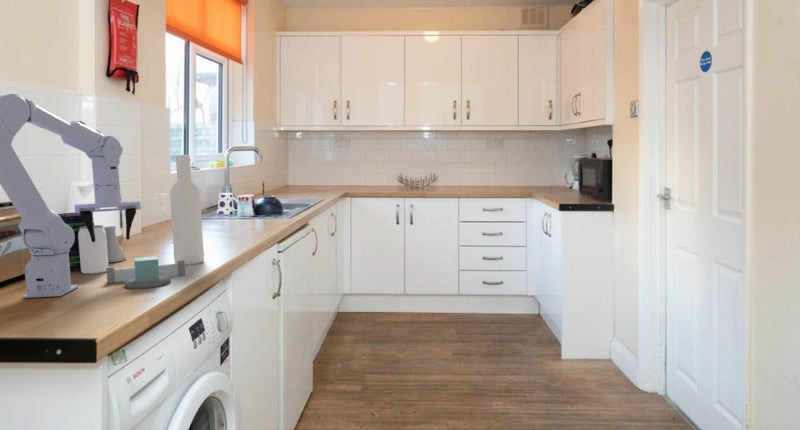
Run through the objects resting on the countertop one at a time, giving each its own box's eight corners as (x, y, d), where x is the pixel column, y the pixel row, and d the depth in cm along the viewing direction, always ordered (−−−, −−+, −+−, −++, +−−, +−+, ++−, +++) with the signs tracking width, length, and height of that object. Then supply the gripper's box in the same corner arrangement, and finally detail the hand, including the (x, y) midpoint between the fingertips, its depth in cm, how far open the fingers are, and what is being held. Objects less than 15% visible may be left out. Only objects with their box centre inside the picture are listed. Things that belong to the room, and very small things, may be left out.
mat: (163, 287, 137) (163, 283, 137) (117, 289, 137) (117, 285, 136) (175, 278, 147) (175, 274, 147) (133, 280, 146) (132, 276, 146)
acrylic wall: (184, 274, 152) (184, 260, 152) (185, 275, 151) (184, 261, 151) (107, 281, 146) (106, 267, 145) (107, 283, 144) (106, 268, 144)
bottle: (168, 264, 167) (160, 155, 164) (188, 259, 174) (181, 154, 171) (190, 265, 164) (183, 154, 161) (210, 260, 171) (204, 154, 168)
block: (158, 276, 145) (157, 256, 145) (159, 280, 141) (157, 259, 140) (136, 278, 143) (134, 258, 143) (136, 282, 139) (134, 261, 138)
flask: (117, 258, 180) (115, 224, 179) (131, 260, 176) (128, 226, 175) (93, 261, 174) (90, 227, 173) (106, 264, 170) (104, 229, 169)
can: (78, 275, 155) (74, 228, 153) (84, 270, 161) (80, 226, 160) (106, 273, 156) (102, 227, 155) (110, 268, 163) (107, 224, 161)
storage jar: (74, 265, 170) (70, 212, 168) (105, 265, 168) (101, 212, 166) (47, 272, 160) (42, 216, 159) (79, 272, 158) (75, 216, 157)
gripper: (138, 183, 155) (142, 235, 156) (74, 186, 149) (79, 240, 150) (139, 184, 148) (142, 239, 150) (72, 187, 142) (76, 244, 144)
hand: (110, 240), depth 149 cm, fingers open, 7 cm apart
